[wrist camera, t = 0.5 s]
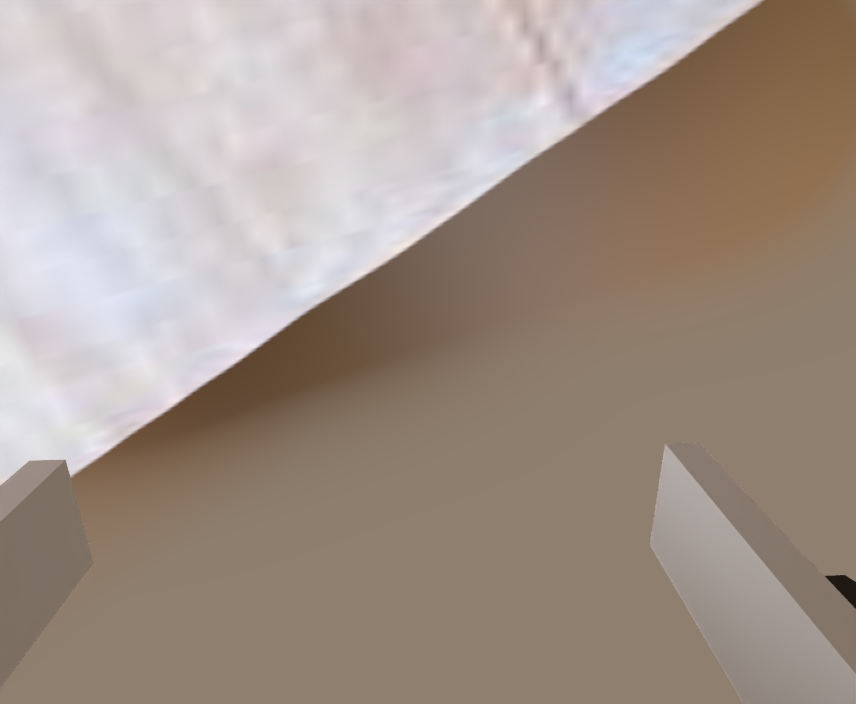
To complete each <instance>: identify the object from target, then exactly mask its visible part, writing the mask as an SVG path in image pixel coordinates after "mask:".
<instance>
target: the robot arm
mask: <svg viewBox="0 0 856 704" xmlns="http://www.w3.org/2000/svg"><path fill="white" fill-rule="evenodd" d="M650 546H651V548H652V549H653V551H654V553H655V555H656V556H657V558H658V560H659V561H660V563H661V565H662V566H663V568H664V570H665V571H666V573H667V575H668V577H669V578H670V580H671V581H672V584H673V585H674V587H675V589H676V590H677V592H678V594H679V596H680V597H681V599H682V601H683V602H684V604H685V606H686V607H687V609H688V611H689V613H690V614H691V616H692V618H693V619H694V621H695V623H696V624H697V626H698V628H699V630H700V631H701V633H702V635H703V637H704V638H705V640H706V642H707V643H708V645H709V647H710V648H711V650H712V652H713V654H714V655H715V657H716V658H717V660H718V662H719V664H720V666H721V667H722V669H723V671H724V672H725V674H726V676H727V677H728V679H729V681H730V683H731V684H732V686H733V688H734V689H735V691H736V693H737V695H738V696H739V698H740V700H741V701H742V703H743V704H856V582H855V581H853V580H852V579H850V578H848V577H847V576H845V575H836V576H824V575H823V574H822V573H821V572H820V571H819V570H818V568H817V567H816V566H815V565H814V564H813V563H812V562H811V561H810V560H809V559H808V558H807V557H806V556H805V555H804V554H803V553H802V551H800V549H799V548H798V547H797V546H796V545H795V544H794V543H793V542H792V541H791V540H790V539H789V538H788V537H787V535H786V534H784V532H783V531H782V530H781V529H780V528H779V527H778V526H777V525H776V524H775V523H774V522H773V521H772V519H771V518H770V517H769V516H768V515H767V514H766V513H765V512H764V511H763V510H762V509H761V508H760V507H759V506H758V505H757V504H756V503H755V501H754V500H753V499H752V498H751V497H750V496H749V495H748V494H747V493H746V492H745V491H744V490H743V489H742V488H741V487H740V485H739V484H738V483H737V482H736V481H735V480H734V479H733V478H732V477H731V476H730V475H729V474H728V473H727V472H726V471H725V470H724V469H723V467H721V465H720V464H719V463H718V462H717V461H716V460H715V459H714V458H713V457H712V456H711V455H710V454H709V452H708V451H707V450H706V449H705V448H704V447H703V446H702V445H701V444H700V443H666V444H665V448H664V455H663V462H662V468H661V475H660V481H659V488H658V494H657V501H656V508H655V514H654V521H653V527H652V534H651V541H650ZM92 564H93V560H92V556H91V552H90V548H89V545H88V541H87V537H86V534H85V530H84V526H83V523H82V519H81V515H80V511H79V508H78V505H77V501H76V497H75V493H74V489H73V486H72V482H71V478H70V475H69V471H68V467H67V464H66V460H42V461H29V462H28V463H26V464H25V465H24V466H23V467H22V468H21V469H19V470H18V471H17V472H16V473H15V474H14V475H13V476H11V477H10V478H9V479H8V480H7V481H6V482H4V483H3V484H2V485H1V486H0V688H1V687H2V686H3V684H4V683H5V681H6V680H7V679H8V677H9V676H10V675H11V673H12V672H13V671H14V669H15V668H16V667H17V665H18V664H19V663H20V661H21V660H22V658H23V657H24V656H25V654H26V653H27V652H28V650H29V649H30V648H31V646H32V645H33V643H34V642H35V641H36V639H37V638H38V637H39V635H40V634H41V633H42V631H43V630H44V629H45V627H46V626H47V624H48V623H49V622H50V621H51V619H52V618H53V616H54V615H55V614H56V612H57V611H58V610H59V608H60V607H61V606H62V604H63V603H64V602H65V600H66V599H67V597H68V596H69V595H70V593H71V592H72V591H73V589H74V588H75V587H76V585H77V584H78V582H79V581H80V580H81V578H82V577H83V576H84V574H85V573H86V572H87V570H88V569H89V568H90V566H91V565H92Z"/></svg>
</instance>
